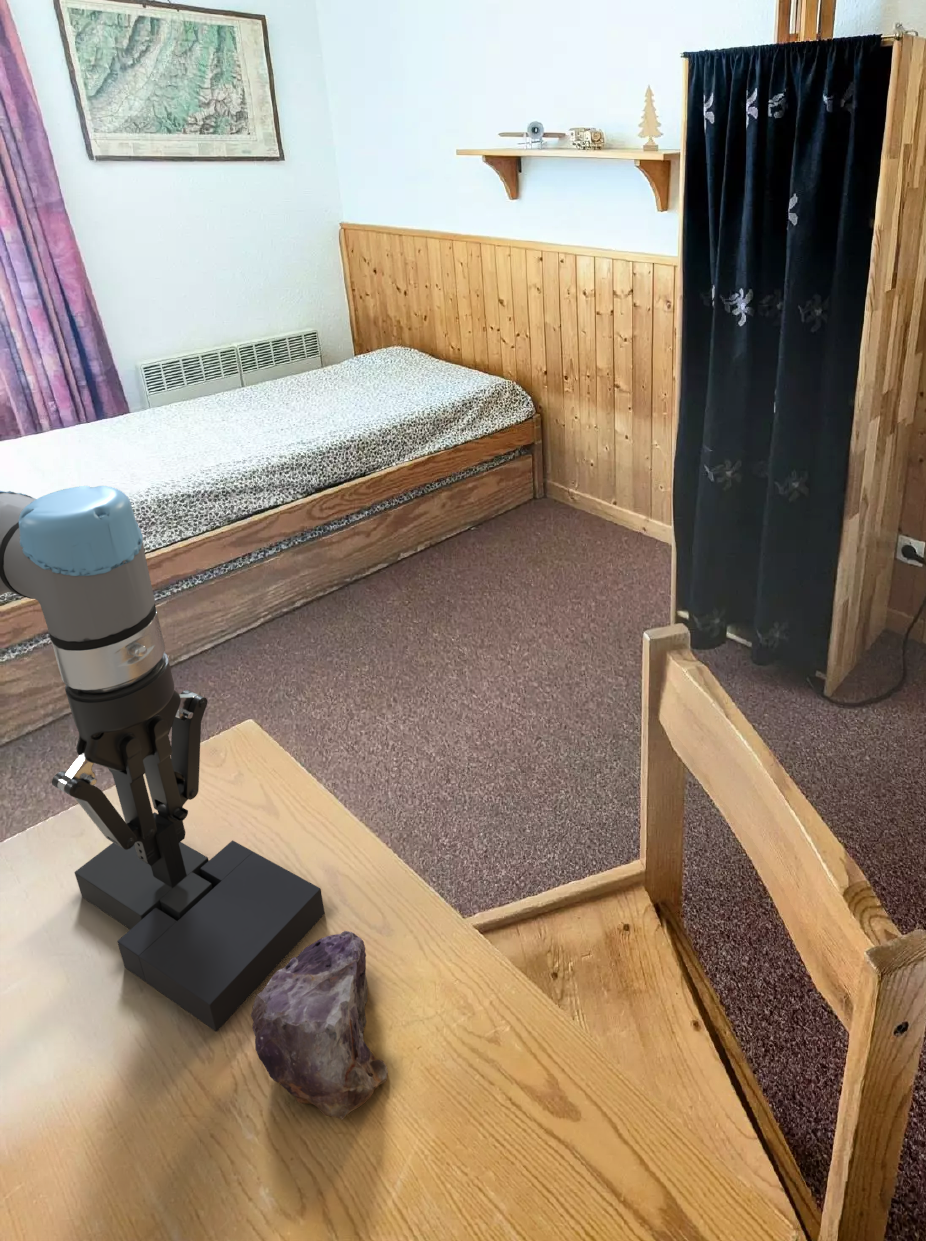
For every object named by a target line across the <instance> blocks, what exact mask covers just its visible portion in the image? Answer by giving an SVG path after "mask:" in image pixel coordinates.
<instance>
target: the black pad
mask: <svg viewBox="0 0 926 1241" xmlns="http://www.w3.org/2000/svg"><path fill="white" fill-rule="evenodd" d="M179 846H180V850H181V854H182V858H183V862H184V866H185V870H186V874H187V876H186V877H185V878H184V879H182V880H181V881H180V882H179V883H178V884H177V885H176V886H174V887H173V888H172V887H170V886H168V885H167V884H165V883H163V882H162V881H160V880H158V879H157V878H155V877H154V876H153V872H152V869H151V866H150V865H148V864H147V863H145V862H143V861H142V860H140V859H139V858H138V856H137V852H136V848H135V845H133V847H131V848H130V849H128V850H125V849H123V848H122V847H120V846H118V845H116V844H115V843H113V842H111V844H109V845H108V846H106V848H104V849H103V850H101V851H100V852H99V853H97V854H96V855H94V856H93V857H92V858H91V859H89V860H88V861H87V862H86V863H84V864H83V865H82V866H80V867H79V868H78V869H76V870H75V871H74V876H75V879H76V882H77V885H78V888H79V889H78V890H79V892H80V895H81V898H83V899H84V900H85V901H87V902H88V903H90V904H91V905H92V906H94V907H96V908H97V909H98V910H100V911H102V912H103V913H105V914H106V915H108V916H109V917H111V918H112V919H113V920H115V921H117V922H118V923H119V924H120V925H122V926H124V927H125V928H126V929H129V930H131V929H132V928H133V927H134V926H135V925H136V924H137V923H139V922H140V921H141V920H142V919H143V918H144V917H145V916H147V915H148V914H149V913H150V912H151V911H152V910H153V909H155V908H157V909H159V910H160V911H162V912H164V913H165V914H167V915H168V916H170V917H171V918H173V919H175V920H176V921H178V920H179V919H180V918H181V917H183V916H184V915H185V914H186V913H187V912H188V911H189V910H190V909H191V908H192V907H193V906H195V905H196V904H197V903H198V902H199V901H200V900H201V899H202V898H203V897H204V896H206V895H207V894H208V893H209V892H210V891H211V890H212V889H213V888H212V884H211V883H210V882H208V881H206V880H205V879H203V878H202V873H201V869H200V868H201V867H202V866H204V865H205V864H206V863H207V862H208V861H209V860H210V859H209V857H208V856H206V855H204V854H203V853H202V852H199V851H197V850H196V849H194V848H192V847H191V846H188V844H185V843H183V842H182V841H181V842H180V843H179Z"/></svg>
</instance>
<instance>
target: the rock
mask: <svg viewBox="0 0 926 1241" xmlns="http://www.w3.org/2000/svg"><path fill="white" fill-rule="evenodd" d="M366 958H367V953H366V946H365V942H364V940H363V939H362V938H361V937H360V936H359V935H357V934H355V933H354V932H353V931H348V930H344V931H342V932H341V933H336V934H331V935H327V936H325V937H321V938H319V939H317V940H316V941H315V942H313V943H312V944H309V945H307V946H306V947H305V948H304V949H302V951H300V953H299V954H298V955H297V956H294V957H292V958H291V959H290V960H289V962H288V963H287V964H286V965H285V966H284V967H282V968H280V969H278V970H276V971H275V973H274V974H273V975H272V977H271V978H270V979H269V981H268V982H267V983H266V986H265V987H264V988H263V989H262V990H261V991H260V992H259V993H257V994H256V995H255V999H254V1001H253V1005H252V1009H251V1014H250V1017H251V1019H252V1027H251V1028H252V1032H253V1035H254V1045H255V1046H254V1048H255V1052H256V1054H257V1057H258V1059H259V1060H260V1061H261V1063H262V1064H263V1066H264V1067H265V1069H266V1072H267V1074H268V1075H269V1077H270V1078H271V1079H272V1080H273V1081H274V1082H276V1083H279V1085H281V1086H282V1088H284V1089H285V1090H286V1091H287V1092H288V1093H289V1094H290V1095H292V1096H293V1097H295V1099H296V1102H297V1103H298V1104H303V1105H304V1104H306V1105H307V1104H312V1105H314V1106H315V1107H316V1108H317V1109H318V1110H319V1111H320V1112H321V1113H322V1114H323V1115H324V1116H327V1117H333V1118H337V1119H339V1120H344V1119H345V1118H346V1117H347V1116H348V1115H349V1114H350V1113H351V1112H353V1111H355V1110H356V1109H358V1108H360V1107H361V1106H363V1105H364V1104H365V1103H366V1102H367V1101H368V1100H370V1098H371V1097H372V1096H373V1094H374V1092H375V1090H376V1089H377V1088H378V1087H379V1086H380V1085H382V1084H385V1083H386V1082H387V1080H388V1074H389V1070H388V1067H387V1064H386V1063H385V1061H384V1060H382V1059H380V1058H379V1059H376V1057H375V1055H374V1054H373V1053H372V1051H371V1050H370V1048H369V1047H368V1045H367V1043H366V1042H365V1040H364V1032H365V1028H366V1025H367V1017H366V1008H365V1007H366V1004H367V1002H368V995H369V990H368V979H367V976H366V974H367V972H366V970H367V959H366Z"/></svg>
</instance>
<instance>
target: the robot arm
mask: <svg viewBox="0 0 926 1241" xmlns="http://www.w3.org/2000/svg"><path fill="white" fill-rule="evenodd" d="M143 539H144V537H143V533H142V530H141V527H139V523H138V522H137V519H136V517H135V513H134V508H133V507H132V502H131V500H130V498H129V497H128V496H127V494H125V492H123V491H122V490H120V489H118V488H115V487H114V486H113V487H112V486H107V485H97V486H89V485H79V486H74V487H68V488H63V489H60V490H56V491H53V492H49V493H47V494H45V495H42V496H40V497H38V498H35V497H33V496H30V495H28V494H24V493H22V492H14V491H11V490H9V491H5V490H0V597H1V596H3V595H5V594H8V593H11V594H14V595H17V596H18V595H19V596H21V597H24V598H27V599H29V600H36V601H37V602H38V604H39V605H40V608H41V611H42V615H43V617H44V620H45V624H46V626H47V630H48V633H49V634H48V636H49V639H50V643H51V645H52V648H53V653H54V656H55V660H56V663H57V667H58V671H59V674H60V678H61V681H62V682H63V684H64V685H65V686H64V691H65V694H66V699H67V701H68V705H69V709H70V712H71V715H72V719H73V722H74V724H75V727H76V729H77V732H78V738H77V739H78V740H77V743H76V754H77V755H78V756H77V758H76V759H75V760H74V761H73V763H72V764H71V765H70V767H69V769H67V771H65V770H64V771H63V770H62V771H59V772H57V773H56V774H55V775H54V776H53V778H52V779H51V785H52V786H53V787H55V788H57V789H58V790H60V791H62V792H63V793H65V794H67V795H69V796H70V797H73V798H74V799H75V800H76V802H77V803H78V804H79V806H80V807H81V808H82V809H83V811H84V813H86V815H87V816H88V817H89V818H90V819H91V821H92V822H93V823H94V825H95V826H96V827H97V828H98V830H99V831H100V832H101V833H102V835H103V836H104V837H105V839H107V840H108V841H110V842H111V843H115V844H116V845H118V846H120V847H122V848H123V849H125V850H128V849H130V848H131V847H133V845H135V848H136V852H137V856H138V858H139V859H140V860H142V861H143V862H145V863H147V864H148V865H150V866H151V869H152V872H153V876H154V877H155V878H157V879H158V880H160V881H162V882H163V883H165V884H167V885H168V886H170V887H172V888H173V887H174V886H176V885H177V884H178V883H179V882H180V881H181V880H182V879H184V878H185V877H186V876H187V874H186V870H185V866H184V862H183V858H182V854H181V850H180V846H179V843H180V842H182V841H183V840H185V838H186V829H185V824H184V820H185V819H187V817H188V815H189V810H188V809H187V808H185V807H184V805H185V804H186V803H187V801H189V800H193V799H195V798H196V797H197V795H198V794H199V791H200V790H199V787H200V764H201V763H200V761H201V732H202V720H203V717H204V716H205V712H206V709H207V706H208V699H207V698H206V697H204V696H202V695H200V694H199V693H195V692H194V691H192V690H189V689H185V690H183V691H181V693H179V692H178V691H176V689H175V682H174V677H173V673H172V669H171V666H170V665H171V664H170V660H169V656H168V654H167V653H166V646H165V640H164V635H163V631H162V627H161V623H160V618H159V615H158V610H157V606H156V600H155V594H154V590H153V586H152V580H151V575H150V571H149V566H148V562H147V557H146V552H145V548H144V542H143V541H144V540H143ZM170 732H171V740H170ZM94 764H95V765H97V766H101V767H103V768H107V769H108V771H109V772H110V773H111V775H112V778H113V782H114V785H115V789H116V793H117V796H118V797H117V798H118V799H119V805H120V807H121V811H122V815H123V817H122V816H121V814H120V813H119V812H118V810H117V809H116V808H115V806H114V805H113V803H112V802H111V801H110V800H109V798H108V797H107V795H106V794H105V793H104V792H103V790H101V789H100V788H99V787H98V786H96V784H97V782H98V779H97V778H96V773H95V772H94V771H93V766H94ZM144 775H145V776H144ZM147 787H148V788H147ZM148 791H149V792H148ZM149 795H150V796H149ZM150 798H151V800H150ZM151 802H152V804H151ZM152 806H153V808H154V810H156V811H157V812H155V811H154V812H153V808H152Z"/></svg>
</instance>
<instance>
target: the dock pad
mask: <svg viewBox="0 0 926 1241" xmlns="http://www.w3.org/2000/svg"><path fill="white" fill-rule="evenodd" d="M208 860H209V861H208V862H207V863H206V864H205V865H204V866H202V867H201V868H200V869H201V873H202V878H203V879H205V880H206V881H208V882H210V883H211V884H212V888H213V889H212V890H211V891H210V892H209V893H208V894H207V895H206V896H204V897H203V898H202V899H201V900H200V901H199V902H198V903H197V904H196V905H195V906H193V907H192V908H191V909H190V910H189V911H188V912H187V913H186V914H185V915H184V916H183V917H181V918H180V919H179V920H178V921H176V920H175V919H173V918H171V917H170V916H168V915H167V914H165V913H164V912H162V911H160V910H159V909H157V908H155V909H153V910H152V911H151V912H150V913H149V914H148V915H147V916H145V917H144V918H143V919H142V920H141V921H140V922H139V923H137V924H136V925H135V926H134V927H133V928H132V929H131V930H130V929H129V930H128V931H127V932H126V933H125V934H123V935H122V936H121V937H120V938H119V939H118V940H117V942H116V943H117V945H118V949H119V952H120V955H121V959H122V963H123V966H124V968H125V969H126V970H127V971H129V972H130V973H131V974H133V975H135V976H136V977H138V978H139V979H140V980H141V981H143V982H144V983H146V984H147V985H149V986H150V987H152V988H153V989H154V990H156V991H157V992H159V993H160V994H162V995H163V996H165V997H166V998H167V999H168V1000H170V1001H171V1002H173V1003H174V1004H175V1005H177V1006H179V1007H180V1008H181V1009H182V1010H184V1011H186V1012H187V1013H189V1014H190V1015H191V1016H193V1017H194V1018H196V1019H197V1020H198V1021H200V1022H202V1023H203V1024H204V1025H206V1026H207V1027H209V1028H210V1029H211V1030H213V1031H214V1032H216V1033H217V1032H218V1031H219V1030H220V1029H221V1028H222V1026H223V1025H225V1023H226V1022H227V1021H228V1020H229V1019H230V1018H231V1017H232V1016H233V1015H234V1013H235V1012H236V1011H237V1010H238V1009H239V1008H240V1007H241V1006H242V1005H243V1004H244V1002H245V1001H247V999H248V998H249V997H250V996H251V995H252V994H253V993H254V992H255V990H256V989H257V988H258V987H259V986H260V985H261V984H262V983H263V982H264V981H265V979H267V977H268V976H269V975H270V974H271V973H272V972H273V971H274V970H275V968H277V966H278V965H280V963H281V962H282V961H283V960H284V959H285V958H286V957H287V956H288V954H290V952H291V951H293V949H294V948H295V947H296V946H297V944H299V943H300V941H301V940H302V939H303V938H304V937H305V936H306V935H307V934H308V932H309V931H310V930H311V929H312V928H313V927H315V925H316V924H317V923H318V921H320V919H322V918H323V916H324V915H325V913H326V912H325V906H324V900H323V894H322V888H321V887H319V886H317V885H315V884H313V883H311V882H309V881H308V880H306V879H304V878H303V877H302V876H301V877H300V876H299V875H297V874H295V873H294V872H292V871H290V870H288V869H286V868H284V867H282V866H280V865H279V864H277V863H275V862H273V861H271V860H269V859H267V858H266V857H264V856H263V855H261V854H260V853H259V854H258V853H256V852H255V851H253V850H251V849H249V848H247V847H246V846H244V845H242V844H240V843H239V842H237V841H235V840H234V839H233V840H231V841H230V842H229V843H227V844H226V845H225V846H224V847H223V848H222V849H220V851H218V853H216V854H215V855H214V856H212V857H211V859H208Z"/></svg>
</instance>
